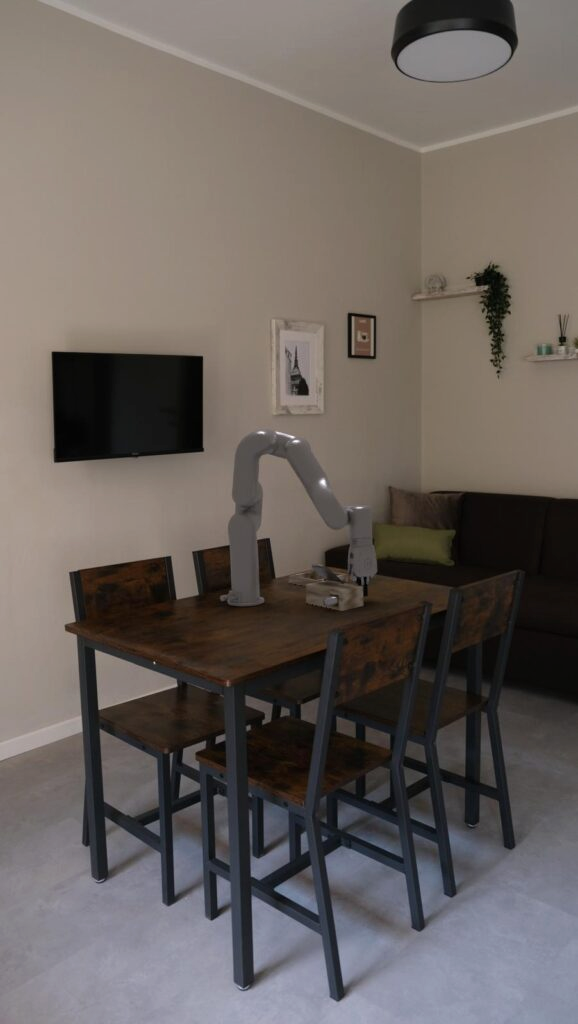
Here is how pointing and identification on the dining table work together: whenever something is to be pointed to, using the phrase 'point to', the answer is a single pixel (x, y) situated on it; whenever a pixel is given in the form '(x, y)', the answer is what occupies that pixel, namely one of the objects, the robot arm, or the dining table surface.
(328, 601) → the pin
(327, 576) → the flap
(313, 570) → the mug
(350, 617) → the dining table surface
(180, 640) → the dining table surface
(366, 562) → the robot arm
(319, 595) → the block
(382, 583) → the dining table surface
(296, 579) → the coaster frame
